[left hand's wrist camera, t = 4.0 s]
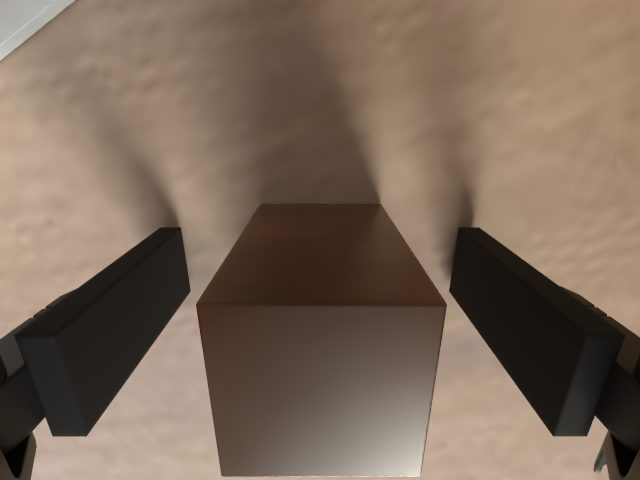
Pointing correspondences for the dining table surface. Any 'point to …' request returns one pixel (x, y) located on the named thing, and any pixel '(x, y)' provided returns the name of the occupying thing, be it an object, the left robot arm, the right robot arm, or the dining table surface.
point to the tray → (25, 20)
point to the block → (321, 346)
